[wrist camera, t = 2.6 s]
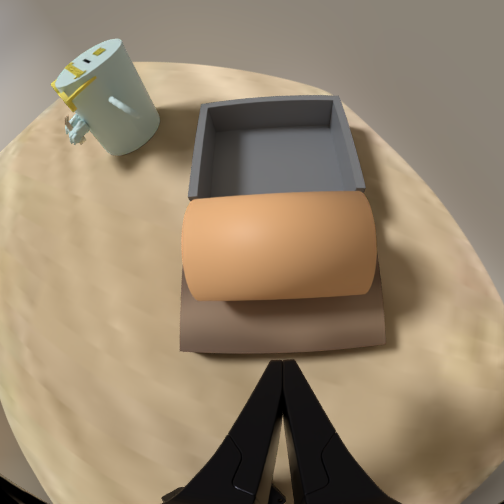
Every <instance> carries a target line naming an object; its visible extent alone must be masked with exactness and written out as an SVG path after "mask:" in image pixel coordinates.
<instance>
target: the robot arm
mask: <svg viewBox="0 0 504 504" xmlns="http://www.w3.org/2000/svg"><path fill="white" fill-rule="evenodd" d="M282 418H283V421H284V428H285V436H286V443H287V451H288V459H289V466H290V474H291V482H292V489H293V497H294V504H402V503H400V502H398V501H396V500H394V499H392V498H391V497H389V496H388V495H386V494H385V493H384V492H383V491H382V490H381V489H380V488H379V487H378V486H377V485H376V484H375V483H374V482H373V480H372V479H371V478H370V477H369V476H368V475H367V473H366V472H365V471H364V470H363V469H362V468H361V466H360V465H359V464H358V463H357V462H356V460H355V459H354V458H353V456H352V455H351V454H350V452H349V451H348V449H347V448H346V446H345V445H344V443H343V442H342V440H341V438H340V437H339V435H338V433H337V432H336V430H335V428H334V427H333V425H332V423H331V422H330V420H329V418H328V416H327V415H326V413H325V411H324V410H323V408H322V406H321V404H320V403H319V401H318V399H317V398H316V396H315V394H314V392H313V391H312V389H311V387H310V385H309V384H308V382H307V380H306V378H305V377H304V375H303V373H302V371H301V370H300V368H299V366H298V364H297V363H296V361H295V360H294V359H290V360H283V361H282V360H271V361H270V362H269V364H268V366H267V368H266V369H265V371H264V373H263V375H262V377H261V378H260V380H259V382H258V384H257V385H256V387H255V389H254V391H253V393H252V394H251V396H250V398H249V399H248V401H247V403H246V405H245V406H244V408H243V410H242V411H241V413H240V415H239V416H238V418H237V420H236V421H235V423H234V425H233V426H232V428H231V429H230V431H229V433H228V435H227V436H226V437H225V439H224V440H223V442H222V444H221V445H220V446H219V448H218V449H217V451H216V452H215V454H214V455H213V456H212V457H211V459H210V460H209V461H208V462H207V463H206V465H205V466H204V467H203V468H202V469H201V470H200V471H199V472H198V473H197V474H196V476H195V477H194V478H193V479H192V480H191V481H190V482H189V483H188V484H187V485H186V486H185V487H180V488H177V489H176V490H174V491H172V492H170V493H168V494H166V495H165V496H163V497H162V501H163V503H162V504H284V503H285V502H286V498H285V496H284V495H283V494H282V493H281V492H280V491H279V490H278V489H277V488H276V487H275V486H274V485H273V484H272V478H273V473H274V467H275V462H276V456H277V450H278V444H279V438H280V432H281V425H282ZM278 499H282V500H281V501H279V500H278ZM0 504H49V503H47V502H45V501H43V500H42V499H40V498H38V497H37V496H35V495H33V494H31V493H30V492H28V491H26V490H25V489H23V488H21V487H20V486H18V485H17V484H15V483H13V482H12V481H10V480H9V479H7V478H6V477H4V476H3V475H2V474H0ZM499 504H504V500H503V501H502V502H500V503H499Z"/></svg>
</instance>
